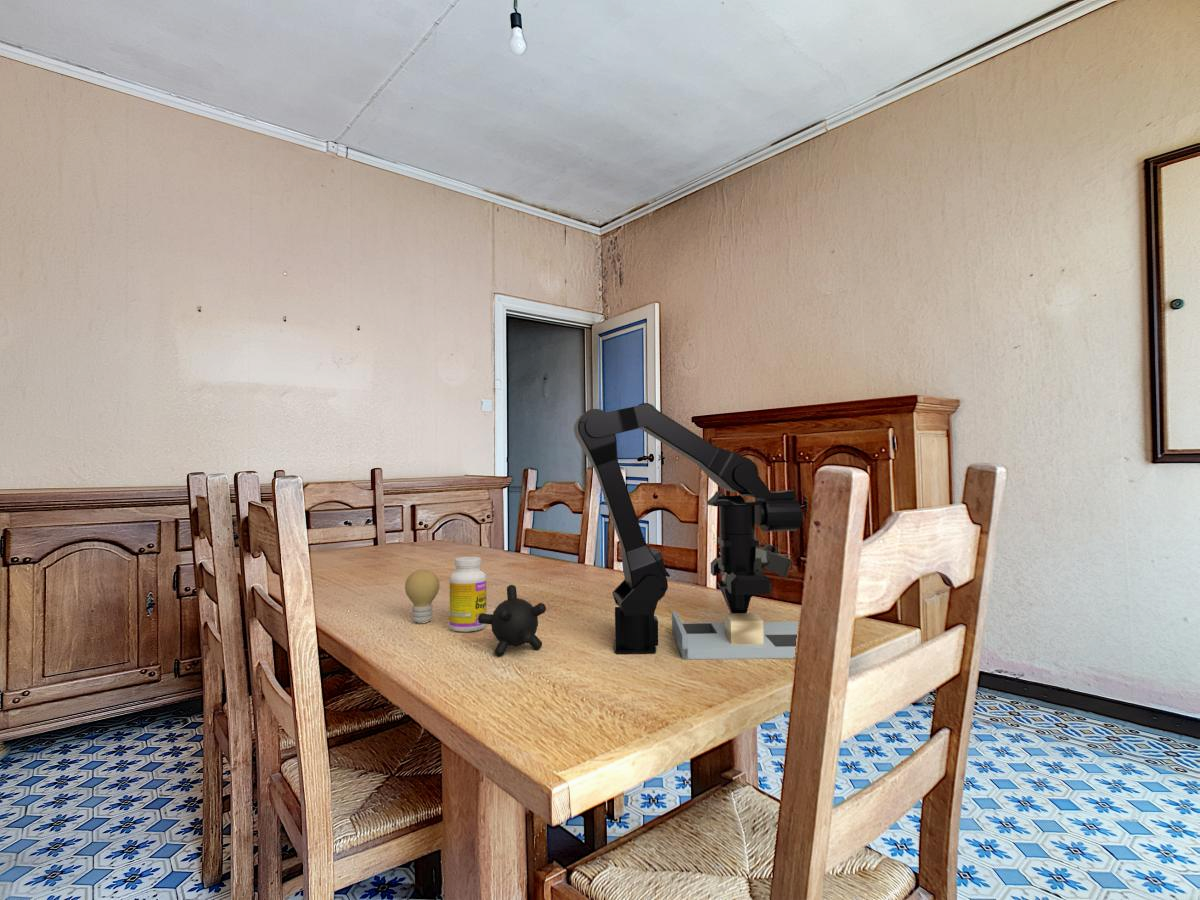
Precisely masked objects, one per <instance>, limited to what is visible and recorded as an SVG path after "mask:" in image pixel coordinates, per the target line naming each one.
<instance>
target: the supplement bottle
mask: <svg viewBox="0 0 1200 900" xmlns="http://www.w3.org/2000/svg"><path fill="white" fill-rule="evenodd" d="M454 565H455V571H454V572H452V574H450V576H449V628H450V630H451V629H452V631H453V630H455V631H475V632H477V631H476V630H479V631H481V630H480V629H482V630H483V629H485V628H486V626H487V624H481V623H479V622H478V616H479V615H480V614H488V612H487V610H488V608H487V574H486V573H485V572H484V571H482V570H480V569H481V568H480V567H481V565H482V558H481V557H480V556H462V557H456V558H455V559H454ZM455 631H454V632H455Z"/></svg>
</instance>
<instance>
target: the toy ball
mask: <svg viewBox="0 0 1200 900" xmlns="http://www.w3.org/2000/svg"><path fill="white" fill-rule="evenodd" d="M517 594H518V593H517V587H516V586H515V585H514V584H509V585H508V586H507V587H506V597H507V599H505V600H503V601H502V602H501V603H499V604H498V605H497V606H496V608H495V609H494V611H493V613H492V614H491V613H487V614H480V615H479V616H478V622H479V623H481V624H486V625H491V632H492V634H493V636H494V637H495V639H496V640H497V641H498V643H497V645H495V646H496V647H495V649H494V650H493V651H494V654H495V655H496V657H503V656H504V655H505V653H506V652H507V650H508V648H509V647H521V646H523V645H525V644H527V645H528V644H529V645H530V646H531V648H533V649H534V650H536V651H537V650H540V649H541V648H542V646H543V642H542V640H541V639H540V638H539V637H538V636H537V635H536V633H537V630H538V626H539V617H538V616H541V615H542V614H545V612H546V610H547V607H546V604H545V603H542V602H539V603H537V604H536V605H534V606H533V605H532V604H531V603H530V602H528V601H527V600H525V599H523V598H518V597H517Z"/></svg>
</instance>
